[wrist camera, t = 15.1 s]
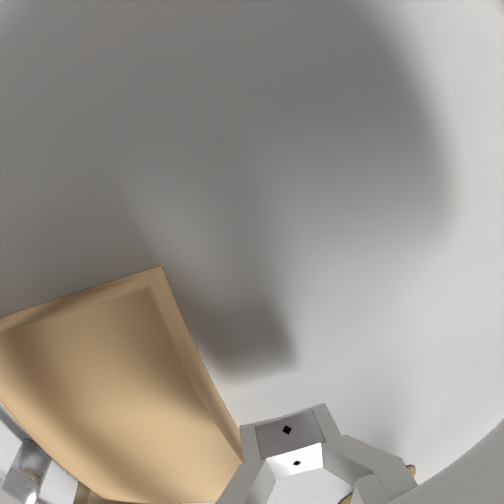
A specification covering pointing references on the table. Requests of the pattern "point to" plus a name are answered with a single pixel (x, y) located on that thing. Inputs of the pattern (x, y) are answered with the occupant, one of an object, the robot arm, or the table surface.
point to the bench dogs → (27, 473)
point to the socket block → (93, 497)
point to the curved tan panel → (120, 393)
